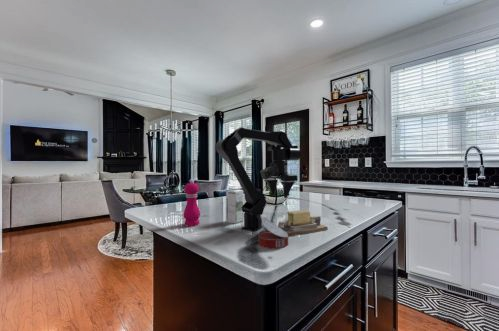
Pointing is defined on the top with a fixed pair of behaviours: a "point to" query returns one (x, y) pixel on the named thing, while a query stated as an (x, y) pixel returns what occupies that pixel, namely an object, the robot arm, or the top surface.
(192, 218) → the pepper mill
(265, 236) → the canned food
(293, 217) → the block
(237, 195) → the syrup box
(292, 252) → the top surface
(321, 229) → the shaft board
